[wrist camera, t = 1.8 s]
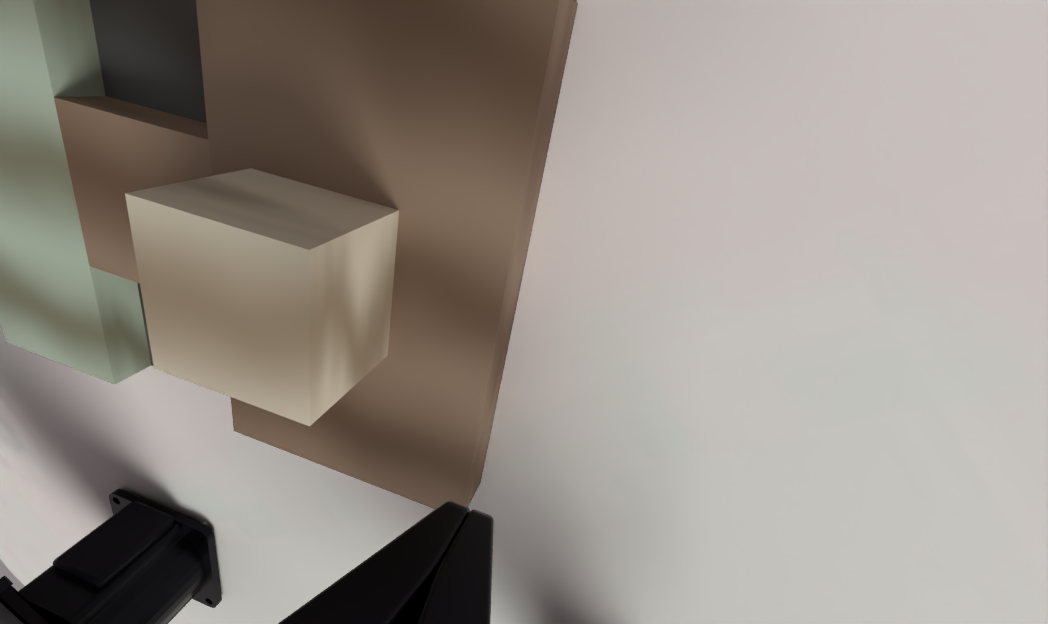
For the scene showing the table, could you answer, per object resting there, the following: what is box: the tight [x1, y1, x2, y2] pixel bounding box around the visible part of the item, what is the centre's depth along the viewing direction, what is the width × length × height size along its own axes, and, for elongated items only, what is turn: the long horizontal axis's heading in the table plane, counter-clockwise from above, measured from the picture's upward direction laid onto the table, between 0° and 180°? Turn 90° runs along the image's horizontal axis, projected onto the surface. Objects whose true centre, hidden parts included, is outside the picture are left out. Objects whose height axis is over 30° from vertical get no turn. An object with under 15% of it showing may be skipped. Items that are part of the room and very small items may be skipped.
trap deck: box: [0, 0, 578, 509], centre depth 18 cm, size 17×22×2 cm
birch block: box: [125, 168, 399, 426], centre depth 15 cm, size 5×5×4 cm
